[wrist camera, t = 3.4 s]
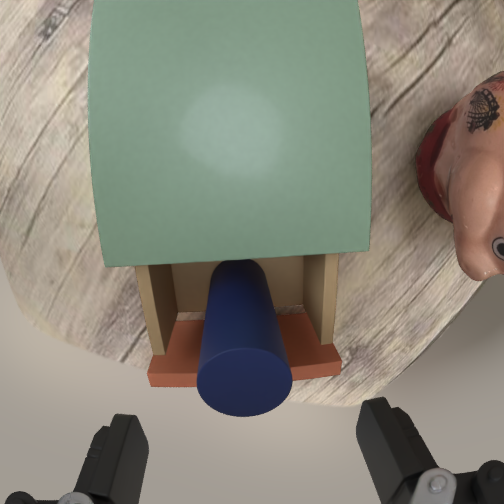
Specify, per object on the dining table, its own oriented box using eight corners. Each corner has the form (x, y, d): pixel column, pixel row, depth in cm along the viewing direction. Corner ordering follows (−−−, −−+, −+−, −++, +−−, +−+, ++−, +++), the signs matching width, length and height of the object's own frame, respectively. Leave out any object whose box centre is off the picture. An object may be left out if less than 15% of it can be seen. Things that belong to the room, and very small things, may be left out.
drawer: (314, 362, 27) (333, 415, 20) (175, 371, 26) (163, 426, 20) (319, 154, 21) (354, 156, 15) (143, 165, 21) (108, 171, 14)
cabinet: (324, 217, 24) (369, 251, 15) (145, 228, 23) (104, 268, 15) (316, 34, 19) (355, -16, 11) (136, 44, 19) (93, -1, 10)
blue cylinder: (213, 308, 23) (203, 419, 13) (208, 258, 22) (189, 350, 11) (267, 305, 23) (291, 413, 13) (265, 254, 22) (294, 343, 12)
